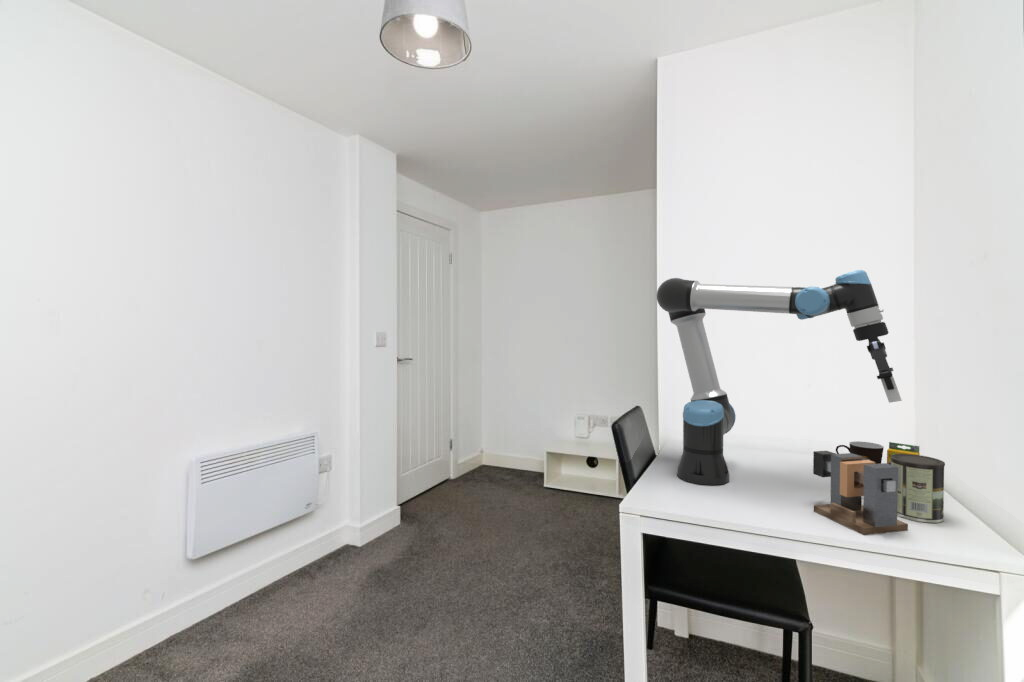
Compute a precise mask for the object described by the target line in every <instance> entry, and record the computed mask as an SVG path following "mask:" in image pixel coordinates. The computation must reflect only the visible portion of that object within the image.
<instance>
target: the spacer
mask: <svg viewBox="0 0 1024 682" xmlns="http://www.w3.org/2000/svg"><path fill="white" fill-rule="evenodd" d="M867 464H875V462H873V461H870V460H860V461H846V462H840V495H843V496H845V497H855V496H862V497H863V493H864V484H862V483H861V485H854V472H860V471H864V465H867Z"/></svg>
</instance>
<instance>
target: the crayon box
mask: <svg viewBox="0 0 1024 682" xmlns="http://www.w3.org/2000/svg"><path fill="white" fill-rule="evenodd" d="M903 446H904V447H907V448H903ZM893 454H913V455H921V453H920V446H919V445H912V444H906V443H898V442H891V441H889V442H888V449H887V451H886V463H887V464H890V465H891V455H893Z"/></svg>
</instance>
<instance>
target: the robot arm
mask: <svg viewBox="0 0 1024 682" xmlns="http://www.w3.org/2000/svg"><path fill="white" fill-rule="evenodd" d="M834 281H835V283H834V284H832V285H829V286H825V287H823V288H821V287H818V286H807V287H799V286H797V287H794V286H776V285H775V286H772V285H771V286H770V285H769V286H768V285H739V284H737V285H736V284H706V283H700V282H699V280H689V279H684V278H679V277H673V278H669V279H666V280H665V281H663V282H662V283H661V284H660V285H659V287H657V291H656V300H657V301H656V302H657V304H658V305H659V307H660V308H661V309H662V310H663V311H666V312H667V313H668V316H669V319H670V323H671V324H673V325H675V326H676V328H677V333H678V336H679V341H680V345H681V348H682V351H683V356H684V362H685V364H686V368H687V373H688V378H689V380H690V383H691V389H692V393H693V394H692V396H691V398H690V401H689V402H687V403H685V404H684V406H683V410H682V411H683V412H682V418H683V419H682V422H683V424H682V427H683V428H682V429H683V430H682V433H683V434H682V437H683V438H682V444H683V446H682V454H681V457H680V459H679V462H678V465H677V467H676V468H677V469H676V471H677V475H676V476H677V477H678V478H679V479H681V480H683V481H686V482H687V483H692V484H697V485H704V486H718V485H719V486H720V485H724V484H727V483H729V481H730V471H729V469H728V466H727V462H726V460H725V456H724V435H725V434H728V433H729V432H731V430H732V429H733V427H734V425H735V422H736V417H737V414H736V411H735V409H734V407H733V406H732V404H731V403H730V401H729V398H728V393H727V392H726V391H725V390H723V389H722V388H721V386H720V383H719V382H720V381H719V378H718V375H717V370H716V367H715V363H714V360H713V356H712V352H711V348H710V344H709V341H708V336H707V333H706V329H705V324H704V321H703V320H704V318H705V316H706V314H707V313H706V310H721V311H735V312H736V311H737V312H738V311H739V312H756V313H769V314H770V313H771V314H773V313H775V314H789V315H796V318H798V319H799V320H802V321H803V320H807V319H813V318H815V317H818V316H823V315H826V314H829V313H833V312H838V311H841V310H844V309H845V311H846V316H847V318H848V321H849V324H850V327H852V328H853V330H852V332H853V335H854V338H855V340H856V342H857V341H858V342H861V341H865V340H868V345H866V348H867V351H868V353H869V354H870V357H871V359H872V360H874V361H875V362H874V363H875V365H876V368H877V370H878V373H879V374H878V375H876V379H877V380H880V381H881V383H882V386H883V390H884V392H885V396H886V398H887V401H888V403H889V404H891V403H895V402H902V398H901V395H900V392H899V390H898V386H897V384H896V381H895V378H894V376H893V372H894V368H893V367H890V365H889V363H888V360H887V358H888V354H887V350H886V345H885V343H884V342H882V341H881V340H880V339H879V337H883V336H887V335H888V334H889V329H888V326H887V324H886V322H885V321H882V320H884V317H883V314H882V313H883V312H884V308H880V307H879V306H880V305H879V303H878V300H877V297H876V294H875V291H874V288H873V285H872V283H871V280H870V278H869V276H868V273H867V272H866V271H865V270H863V269H858V270H853V271H849V272H847V273H844V274H843V273H842V274H840V275H838V276H836V277H835V280H834Z"/></svg>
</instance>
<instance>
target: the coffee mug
mask: <svg viewBox="0 0 1024 682" xmlns="http://www.w3.org/2000/svg"><path fill="white" fill-rule="evenodd" d="M848 443H849V446H847V445H844V444H839V445H838V446H836V448H835V453H836V454H840V453H839V450H838V449H840V448H845V449H847V450H848V453H853V454H856V455H859V456H862V460H870V461H873V462H875V464H881V463H882V461H883V454H884V447H885V446H884V445H882V444H879V443H874V442H869V441H860V440H859V441H856V440H855V441H854V440H853V441H850V442H848Z"/></svg>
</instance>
